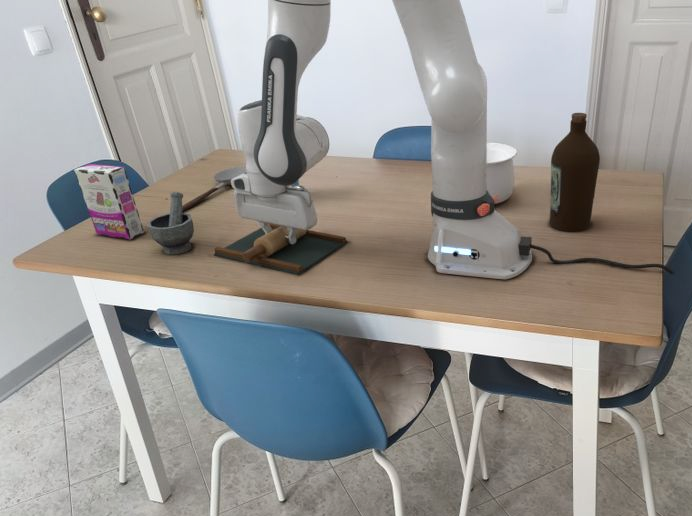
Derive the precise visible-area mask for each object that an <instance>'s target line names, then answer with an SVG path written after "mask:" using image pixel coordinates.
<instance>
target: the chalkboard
mask: <svg viewBox="0 0 692 516" xmlns="http://www.w3.org/2000/svg"><path fill="white" fill-rule="evenodd" d="M269 224H270V226H271V228H272V230H274V229H276V228H278V227H280V226H281V225H277V224H272V223H269ZM263 235H265V232H264V231H263V229H262V228H261V227H260V228H258V229H256V230H255V231H253V232H251V233H250V234H247V235H246V236H243V237H242V238H240V239H238V240H236V241H234V242H232V243H231V244H229V245H227V246H225V247H221V246H217V247H215V248H213V249H214V253H213V256H215V257H219V258H223V259H228V260H233V261H237V262H240V263H245V264H250V265H254V266H258V267H263V268H267V269H271V270H275V271H281V272H284V273H289V274H293V275H296V276H299V275H301V274H302V273H304V272H305V271H307V270H309V269H310V268H311V267H313V266H315V265H316V264H318V263H319V262H320V261H322V260H323V259H325V258H327V257H328V256H330V255H332V253H334V252H336V251H337V250H339V249H340V248H342V247H343V246H345V245H346V244H347V243H348V240H347V237H346V236H341V235H338V234H337V235H336V234H331V233H325V232H320V231H315V230H311V229H308V230H307V231H306V234H305V235H304V236H302V237H301V238H299V239H297V240H296V243H294V244H289V245H287V246H285V247H284V248H282V249H280V250H279V251H277V252H275V253H274V254H272V255H270V256H269V257H267V258H266V257H261V256H258V257H257V258H255V259H253V260H252V261H250V262H245V261H244V260H243V258H242V254H243V253H244V252H246V251H248V250H249V249H251V248H253V247H254V241H255V240H256V239H258V238H260V237H262V236H263Z"/></svg>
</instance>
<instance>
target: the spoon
mask: <svg viewBox="0 0 692 516" xmlns="http://www.w3.org/2000/svg"><path fill="white" fill-rule="evenodd" d="M246 172H247V171H246V166H237V167H231V168H227V169H224V170H222V171H219V172H217V173H215V174H214V175H213V176H212V178H213V180H214V181H215V182H218V184H217V185H216V186H214V187H212V188H211V189H209V190H208V191H205V192H203V193H202V194H200V195H198V196H196V197H194V198H193V199H191V200H190V201H188V202H187V203H186V202H185V204H182V212H185V211H186V210H189V209H190V208H192V207H194V206H196V205H197V204H199V203H201V202H203V201H204V200H205V199H207V198H208V197H209V196H210V195H212V194H213V193H215V192H217V191H218V190H220V189H223V188H224V187H225V186H232V185H231V180H232V179H233V178H235V177H237V176H239V175H241V174H244V173H246Z"/></svg>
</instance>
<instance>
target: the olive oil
mask: <svg viewBox="0 0 692 516" xmlns="http://www.w3.org/2000/svg"><path fill="white" fill-rule="evenodd" d="M587 115H588V114H587V113H585V112H574V113H572V114H571V120H570V127H569V129H570V130H569V132H568V133H567V134H566V135H565V136H564V137H563V139H562V140H560V141H559V142H558V143H557V145H556V146H555V147H554V149H553V151H552V154H551V159H550V203H549V204H550V205H549V209H550V210H549V224H550V226H551V227H553V228H554V229H555V230H559V231H563V232H580V231H584V230H586V229H588V228H589V227H590V226H591V223H592V222H591V221H592V214H593V206H594V200H595V193H596V186H597V181H598V174H599V169H600V164H601V163H600V162H601V157H600V151H599V148H598V146H597V144H596V143H595V142H594V141H593V139H591V137H590V136H589V134H588V133H587V131H586V130H587V117H588V116H587Z"/></svg>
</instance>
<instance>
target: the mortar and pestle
mask: <svg viewBox="0 0 692 516" xmlns="http://www.w3.org/2000/svg"><path fill="white" fill-rule="evenodd" d="M169 196H170V198H171V199H170V207H169V208H170V210H169V213H165V214H162V215H159V216H155V217H153V218H152V219H150V220H149V221H147V229H148V232H149V234H150V236H151V238H152V239H153V241H155V242H156V243H157V244H158V245H160V246H162V249H163V253H164V254H166V255H180V254H182V253H185V252H188V251H189V250H191V249H192V245H191V242H190V241H191V239H192V238H193V236H194V232H195V226H194V221H193V218H192V215H191V214H189V213H185V212H183V211H182V206H183V198H184V193H182V192H179V191H172V192H170V195H169Z"/></svg>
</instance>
